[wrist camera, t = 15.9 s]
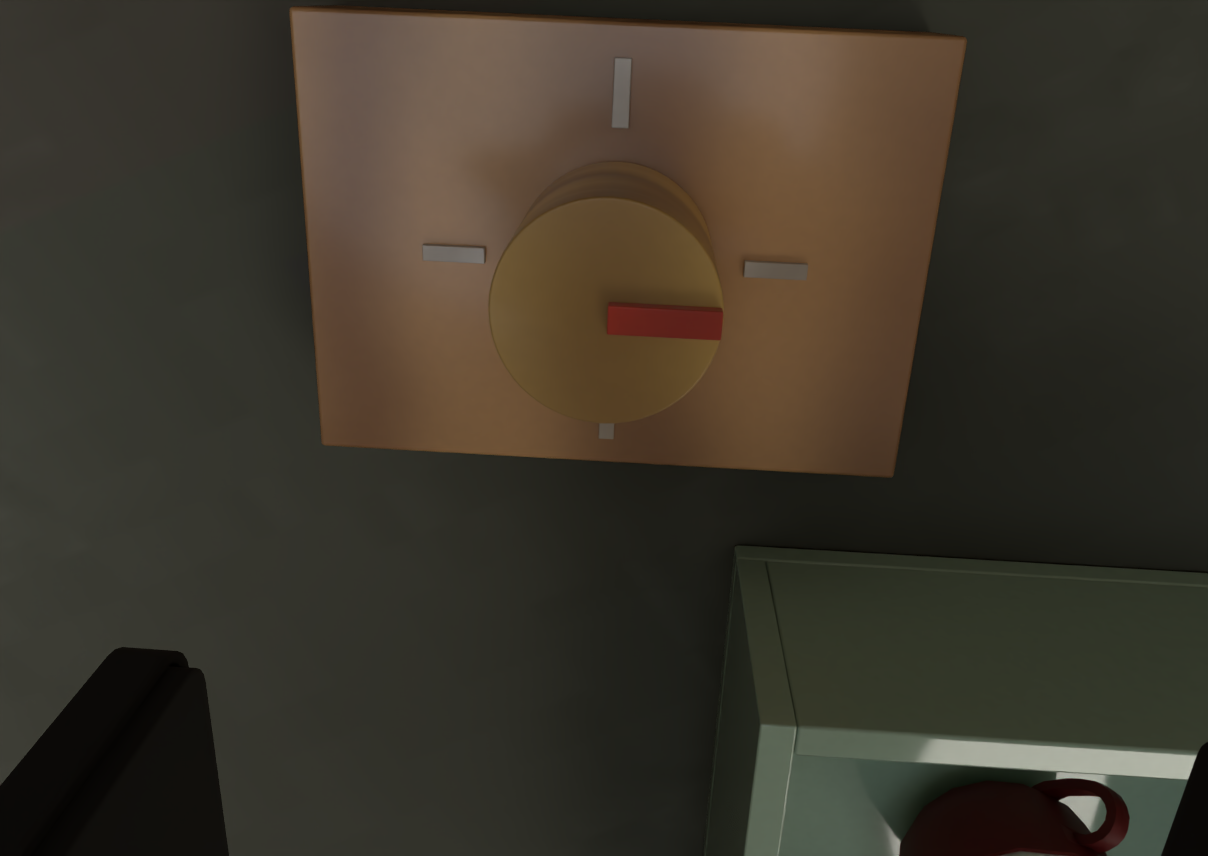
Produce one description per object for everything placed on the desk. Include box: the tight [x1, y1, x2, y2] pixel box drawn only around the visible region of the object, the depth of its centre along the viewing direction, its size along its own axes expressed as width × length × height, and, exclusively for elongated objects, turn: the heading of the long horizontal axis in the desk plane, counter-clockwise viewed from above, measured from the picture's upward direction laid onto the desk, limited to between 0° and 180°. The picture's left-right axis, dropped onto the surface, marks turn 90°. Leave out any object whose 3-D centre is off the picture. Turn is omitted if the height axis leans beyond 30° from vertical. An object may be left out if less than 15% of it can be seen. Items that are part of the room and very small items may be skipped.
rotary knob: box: [488, 162, 724, 424], centre depth 21 cm, size 4×4×4 cm
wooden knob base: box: [289, 5, 967, 478], centre depth 24 cm, size 14×10×3 cm
